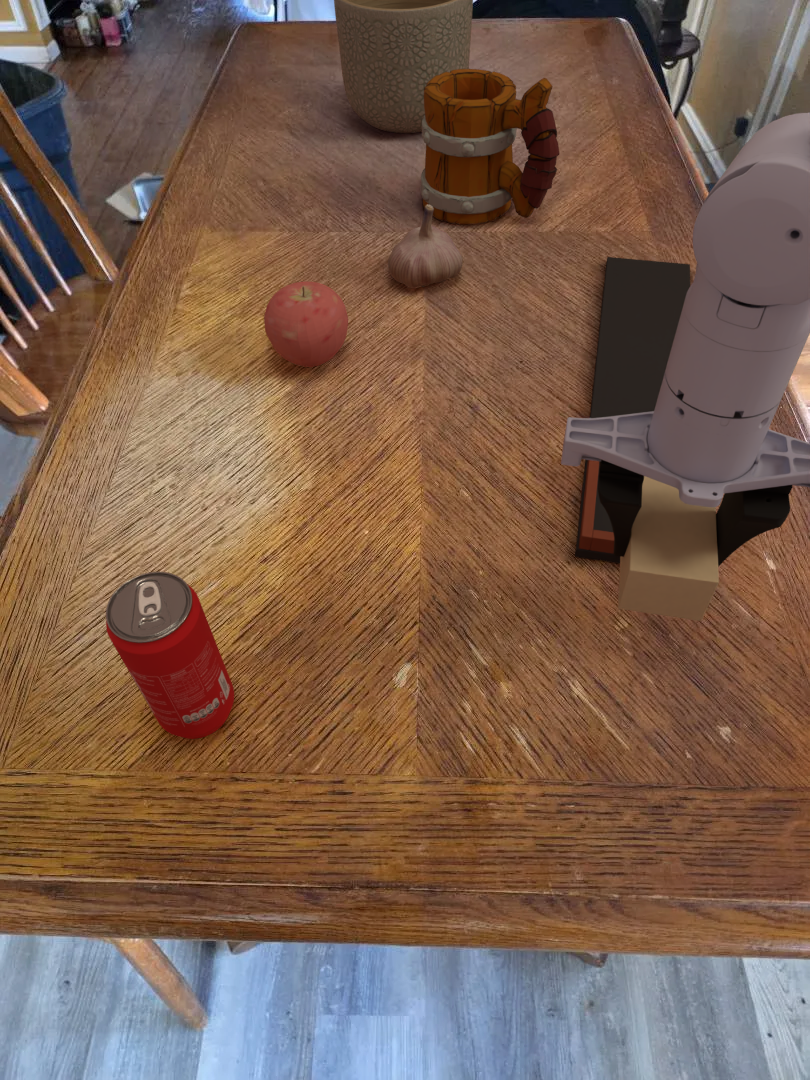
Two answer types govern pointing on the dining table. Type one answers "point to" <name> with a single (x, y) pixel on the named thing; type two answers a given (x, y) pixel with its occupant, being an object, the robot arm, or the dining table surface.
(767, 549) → the dining table surface
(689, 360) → the robot arm
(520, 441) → the dining table surface
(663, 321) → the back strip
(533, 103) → the mug
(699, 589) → the foam pad
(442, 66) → the planter
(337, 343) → the apple
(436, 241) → the garlic bulb
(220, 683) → the beverage can
